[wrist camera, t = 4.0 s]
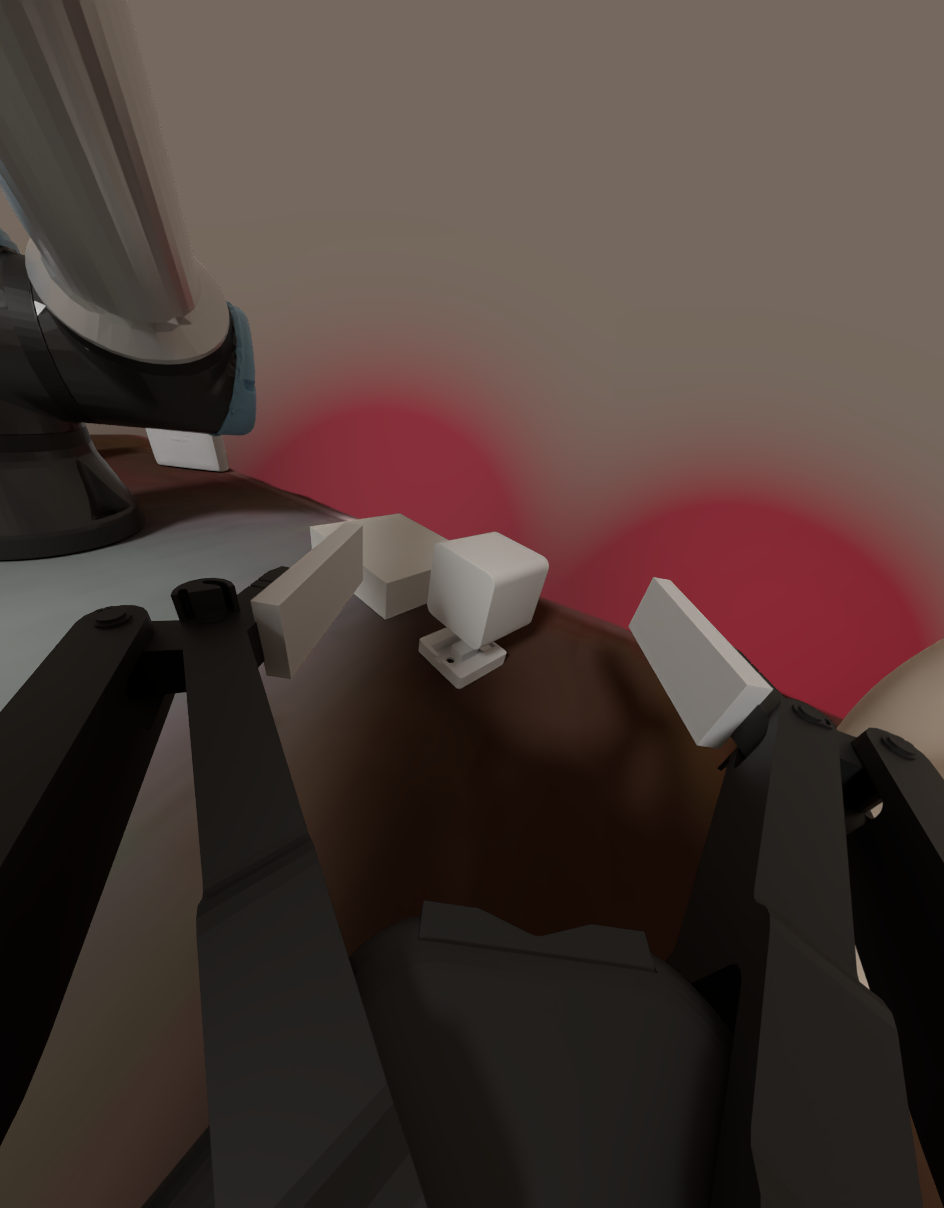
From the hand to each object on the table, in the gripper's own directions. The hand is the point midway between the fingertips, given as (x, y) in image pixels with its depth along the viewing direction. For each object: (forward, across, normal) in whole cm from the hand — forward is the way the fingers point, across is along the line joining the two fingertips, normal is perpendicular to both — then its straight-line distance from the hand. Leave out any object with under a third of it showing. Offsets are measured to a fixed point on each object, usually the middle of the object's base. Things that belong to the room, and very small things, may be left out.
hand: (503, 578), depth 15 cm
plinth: (+21, -10, -12) cm, 26 cm away
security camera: (+9, 0, -13) cm, 16 cm away
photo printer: (+45, -51, -12) cm, 69 cm away
